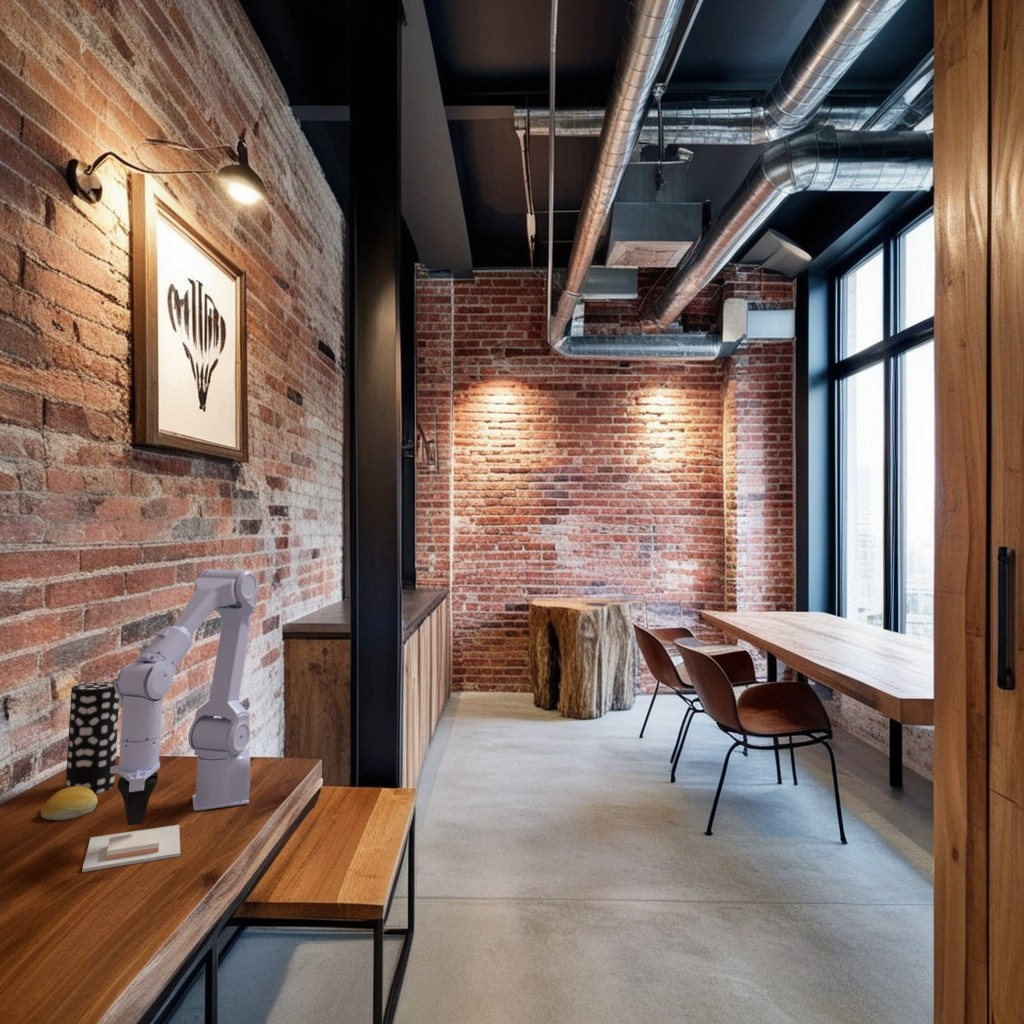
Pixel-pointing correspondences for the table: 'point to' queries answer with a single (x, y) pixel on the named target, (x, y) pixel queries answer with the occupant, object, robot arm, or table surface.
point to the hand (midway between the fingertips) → (135, 823)
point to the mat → (98, 856)
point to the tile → (133, 844)
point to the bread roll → (69, 803)
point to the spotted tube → (92, 736)
